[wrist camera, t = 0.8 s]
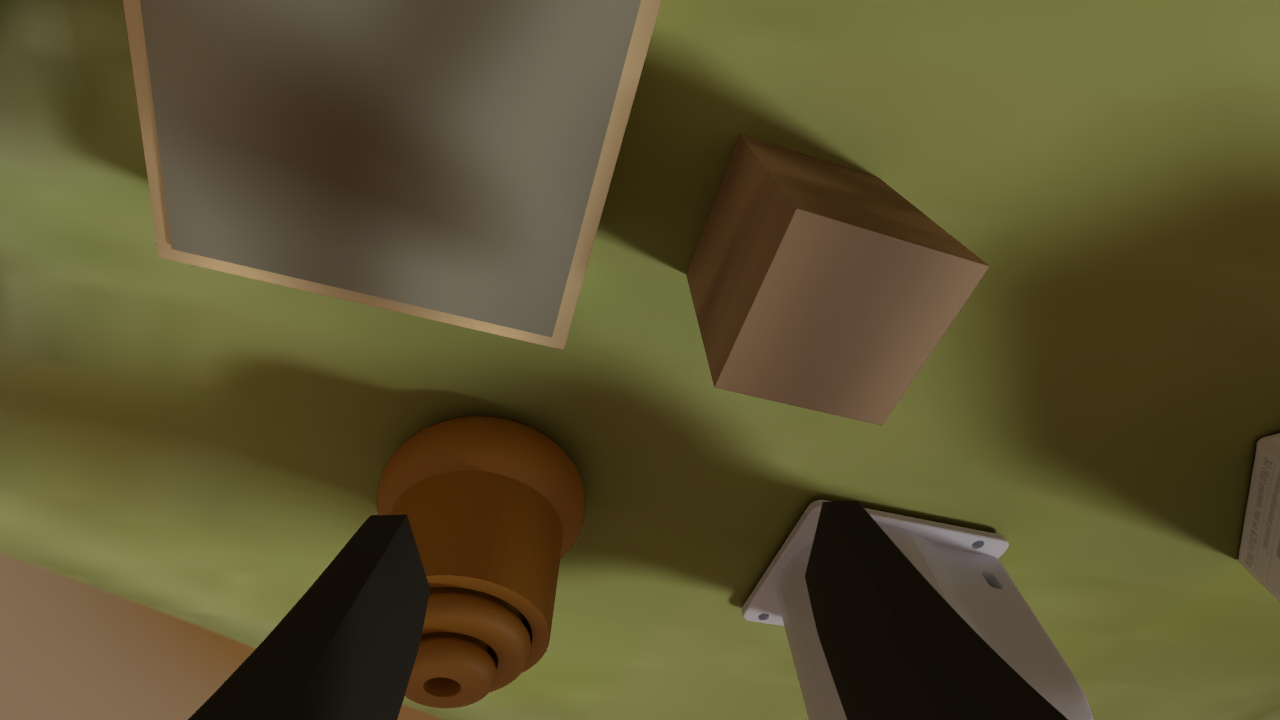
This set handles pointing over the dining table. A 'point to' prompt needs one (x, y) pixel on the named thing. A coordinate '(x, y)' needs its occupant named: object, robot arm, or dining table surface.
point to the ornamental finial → (483, 548)
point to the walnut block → (822, 284)
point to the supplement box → (1263, 517)
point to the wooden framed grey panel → (391, 146)
